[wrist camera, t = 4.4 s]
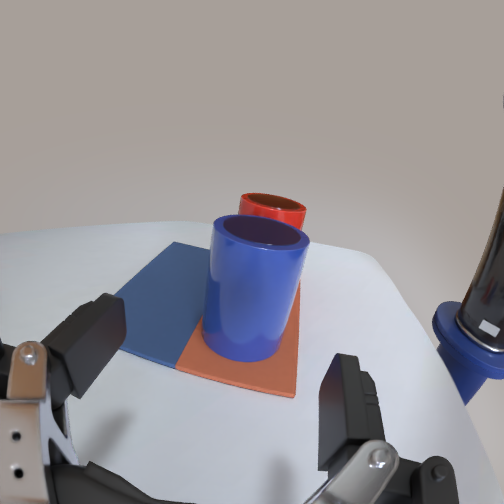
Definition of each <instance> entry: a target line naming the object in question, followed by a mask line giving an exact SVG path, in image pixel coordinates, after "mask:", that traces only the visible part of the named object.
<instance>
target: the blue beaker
mask: <svg viewBox="0 0 504 504" xmlns="http://www.w3.org/2000/svg"><path fill="white" fill-rule="evenodd" d="M309 244H310V241H309V238H308V236H307V235H306V234H305V233H304V232H302V231H301V230H299V229H298V228H296V227H294V226H292V225H289V224H287V223H284V222H281V221H278V220H275V219H271V218H266V217H261V216H254V215H228V216H223V217H220V218H218V219H216V220H215V221H214V223H213V229H212V237H211V245H210V253H209V261H208V270H207V278H206V287H205V297H204V306H203V316H202V326H201V334H202V338H203V340H204V342H205V343H206V345H207V346H208V347H209V348H210V349H211V350H212V351H214V352H215V353H217V354H218V355H220V356H222V357H224V358H227V359H230V360H233V361H238V362H257V361H261V360H265V359H267V358H269V357H271V356H272V355H274V354H275V353H276V352H277V350H278V349H279V347H280V345H281V341H282V338H283V335H284V332H285V328H286V325H287V322H288V319H289V315H290V312H291V308H292V305H293V302H294V298H295V295H296V291H297V288H298V284H299V281H300V277H301V273H302V270H303V266H304V263H305V259H306V255H307V251H308V247H309Z"/></svg>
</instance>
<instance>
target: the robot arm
mask: <svg viewBox="0 0 504 504" xmlns="http://www.w3.org/2000/svg"><path fill="white" fill-rule="evenodd" d="M503 108H504V96H503ZM454 319H455V323H456V325H457V327H458V328H459V330H460V331H461V332H462V333H463V334H464V335H465V336H466V337H467V338H468V339H469V340H470V341H471V342H473V343H474V344H475V345H477V346H478V347H480V348H482V349H484V350H486V351H488V352H491V353H494V354H504V187H503V191H502V195H501V199H500V203H499V207H498V211H497V214H496V217H495V220H494V224H493V227H492V230H491V233H490V236H489V239H488V242H487V245H486V247H485V250H484V253H483V255H482V258H481V261H480V263H479V266H478V268H477V270H476V273H475V275H474V278H473V280H472V282H471V284H470V287H469V289H468V291H467V293H466V295H465V298H464V300H463V302H462V304H461V306H460V308H459V309H458V310H457V312H456V314H455V317H454ZM126 333H127V327H126V316H125V304H124V300H123V299H122V298H120V297H117V296H114V295H111V294H108V293H103V294H102V295H101V296H100V297H99V298H97V299H96V300H95V301H94V302H93V301H90V302H88V303H86V304H83V305H81V306H79V307H78V308H77V309H76V310H75V311H74V312H73V313H72V315H69V316H68V317H67V318H66V319H65V321H63V322H62V323H60V324H59V325H58V326H57V327H56V328H55V329H54V330H53V331H52V332H51V333H50V334H49V335H48V336H46V337H45V338H44V339H43V340H42V341H41V342H40V343H39V342H36V341H27V342H24V343H22V344H20V345H18V346H17V347H14V346H10V345H7V344H3V343H2V341H1V339H0V504H195V503H183V502H173V501H165V500H158V499H154V498H151V497H150V496H148V495H146V494H145V493H143V492H142V491H141V490H139V489H138V488H136V487H135V486H133V485H132V484H130V483H129V482H128V481H126V480H125V479H124V478H122V477H121V476H119V475H117V474H115V473H113V472H111V471H109V470H106V469H105V468H103V467H101V466H99V465H97V464H95V463H93V462H91V461H89V463H88V464H87V466H81V465H79V461H78V458H77V455H76V453H75V450H74V448H73V444H72V439H71V432H70V423H69V414H68V403H67V400H66V399H67V397H68V396H69V395H70V394H71V395H73V396H75V397H77V398H78V399H81V398H82V396H83V395H84V394H85V392H86V391H87V390H88V388H89V387H90V386H91V384H92V383H93V382H94V380H95V379H96V378H97V376H98V375H99V374H100V372H101V371H102V370H103V368H104V367H105V366H106V365H107V363H108V362H109V361H110V359H111V358H112V357H113V356H114V354H115V353H116V352H117V351H118V349H119V348H120V347H121V345H122V344H123V342H124V340H125V338H126ZM378 404H379V402H378V397H377V392H376V387H375V382H374V381H373V379H372V378H371V376H370V375H369V374H368V372H365V371H360V366H359V360H358V357H357V356H352V355H346V354H340V353H337V354H336V355H335V356H334V358H333V360H332V362H331V364H330V367H329V369H328V371H327V373H326V375H325V377H324V379H323V381H322V383H321V386H320V391H319V448H318V471H328V479H327V480H326V481H325V482H324V483H323V484H322V485H321V486H320V487H319V488H318V489H317V490H316V491H315V492H314V493H313V494H312V495H311V496H310V497H309V498H308V499H307V500H306V501H305V502H304V503H303V504H459V499H458V492H457V485H456V479H455V474H454V469H453V467H452V465H451V463H450V462H449V461H448V460H447V459H445V458H443V457H440V456H432V457H430V458H428V459H427V460H425V461H424V462H423V463H419V462H415V461H411V460H407V459H403V458H401V457H399V456H398V453H397V451H396V450H395V448H394V447H393V446H392V445H390V444H389V443H387V442H386V440H385V435H384V429H383V423H382V417H381V412H380V407H379V406H378Z"/></svg>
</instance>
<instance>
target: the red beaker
mask: <svg viewBox="0 0 504 504" xmlns="http://www.w3.org/2000/svg"><path fill="white" fill-rule="evenodd" d="M305 214H306V207H304V206H303V205H301V204H300V203H298V202H296V201H293V200H290V199H287V198H284V197H280V196H275V195H269V194H261V193H247V194H243V195H242V196H241V200H240V206H239V212H238V215H254V216H261V217H266V218H271V219H275V220H278V221H281V222H284V223H287V224H289V225H292V226H294V227H296V228H298V229H299V230H301V231H302V227H303V223H304V218H305Z"/></svg>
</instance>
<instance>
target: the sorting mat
mask: <svg viewBox="0 0 504 504" xmlns="http://www.w3.org/2000/svg"><path fill="white" fill-rule="evenodd" d="M209 253H210V250H208V249H204V248H199V247H195V246H191V245H186V244H182V243H178V242H173V243H172V244H171V245H169V246H168V247H167V248H166V249H165V250H164V251H162V252H161V253H160V254H159V255H158V256H157V257H156V258H154V259H153V260H152V261H151V262H150V263H149V264H148V265H146V266H145V267H144V268H143V269H142V270H141V271H140V272H139V273H138V274H136V275H135V276H134V277H133V278H132V279H131V280H130V281H129V282H128V283H126V284H125V285H124V286H123V287H122V288H121V289H120V290H119V291H118V292H117V293H116V294H115V295H114V296H117V297H120V298H122V299H123V300H124V304H125V316H126V327H127V333H126V338H125V340H124V342H123V344H122V345H121V347H120V348H119V349H122V350H124V351H127V352H129V353H132V354H134V355H137V356H140V357H143V358H145V359H148V360H151V361H154V362H156V363H159V364H162V365H165V366H168V367H171V368H174V369H177V370H181V371H184V372H187V373H190V374H194V375H197V376H200V377H204V378H208V379H211V380H215V381H219V382H222V383H226V384H230V385H234V386H238V387H242V388H247V389H251V390H256V391H260V392H265V393H270V394H275V395H280V396H286V397H291V398H294V396H295V393H296V377H297V360H298V339H299V311H300V281H299V284H298V288H297V291H296V295H295V298H294V302H293V305H292V308H291V312H290V315H289V319H288V322H287V325H286V328H285V332H284V335H283V338H282V341H281V345H280V347H279V349H278V350H277V352H276V353H275V354H274V355H272V356H271V357H269V358H267V359H265V360H261V361H257V362H238V361H233V360H230V359H227V358H224V357H222V356H220V355H218V354H217V353H215V352H214V351H212V350H211V349H210V348H209V347H208V346H207V345H206V343H205V342H204V340H203V338H202V334H201V326H202V316H203V306H204V297H205V287H206V278H207V270H208V261H209Z"/></svg>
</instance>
